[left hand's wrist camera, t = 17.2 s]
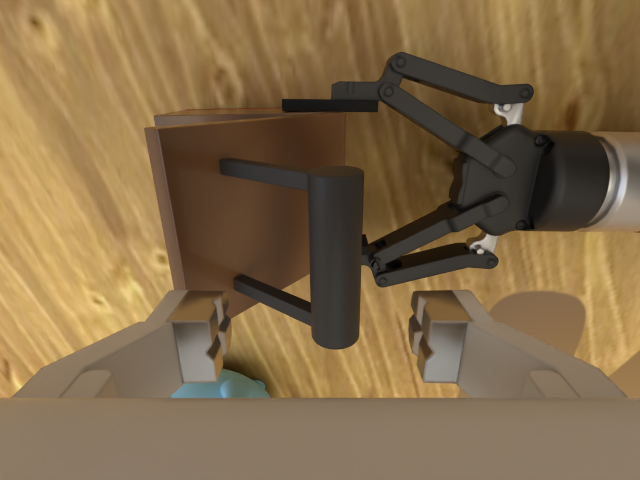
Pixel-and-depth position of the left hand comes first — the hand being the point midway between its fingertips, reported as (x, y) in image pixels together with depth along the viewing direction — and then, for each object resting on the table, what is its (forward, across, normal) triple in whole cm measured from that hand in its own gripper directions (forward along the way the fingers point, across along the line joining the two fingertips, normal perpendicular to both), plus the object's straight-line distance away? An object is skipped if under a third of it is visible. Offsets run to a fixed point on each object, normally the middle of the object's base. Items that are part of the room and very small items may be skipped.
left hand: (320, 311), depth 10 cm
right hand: (+19, -3, 0) cm, 19 cm away
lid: (+12, -3, 0) cm, 12 cm away
